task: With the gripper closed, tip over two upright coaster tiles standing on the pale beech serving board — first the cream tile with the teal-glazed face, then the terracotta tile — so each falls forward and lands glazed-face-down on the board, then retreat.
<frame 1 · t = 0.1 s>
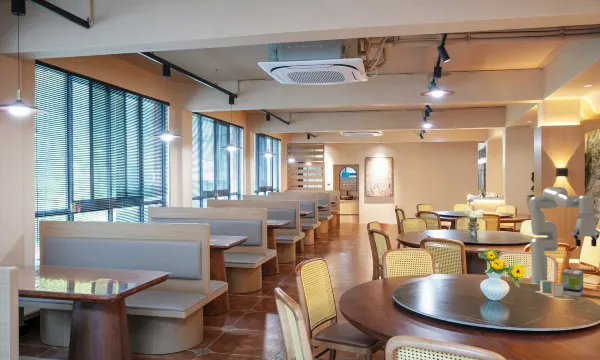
hand: (586, 246, 266), 31 cm above the table, fingers open, 9 cm apart
cream tile: (545, 292, 279), point 1 cm above the table, touching board
tea box: (572, 295, 277), on the table
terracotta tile: (557, 296, 268), point 1 cm above the table, touching board
board: (554, 297, 271), on the table
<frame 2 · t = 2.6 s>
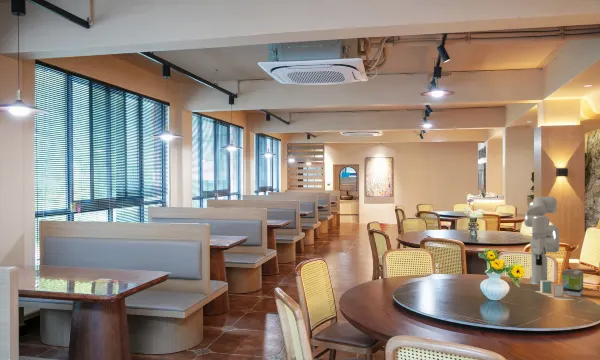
hand: (538, 265, 286), 17 cm above the table, fingers closed
nothing on the table moved.
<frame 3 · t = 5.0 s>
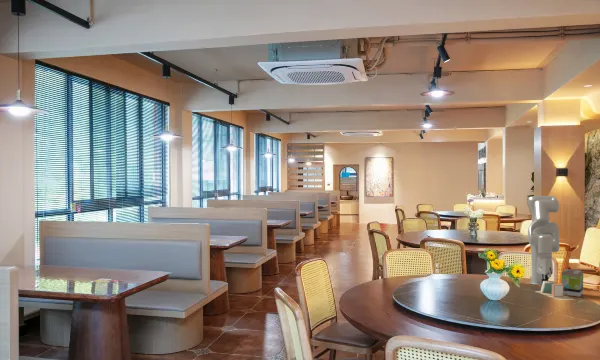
hand: (544, 285, 280), 5 cm above the table, fingers closed
cream tile: (546, 291, 279), point 2 cm above the table, tilted 22°, touching board
everything else where it was.
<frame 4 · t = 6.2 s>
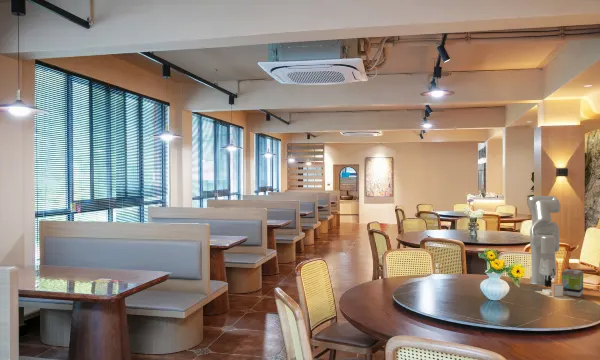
hand: (547, 286, 277), 5 cm above the table, fingers closed
cream tile: (546, 290, 278), point 2 cm above the table, tilted 90°, touching board
everything else where it was.
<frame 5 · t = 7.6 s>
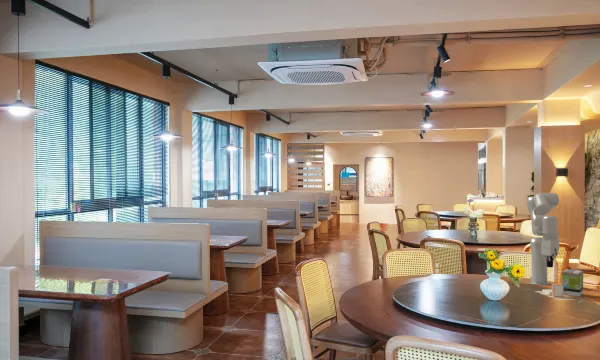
hand: (549, 267, 276), 17 cm above the table, fingers closed
nothing on the table moved.
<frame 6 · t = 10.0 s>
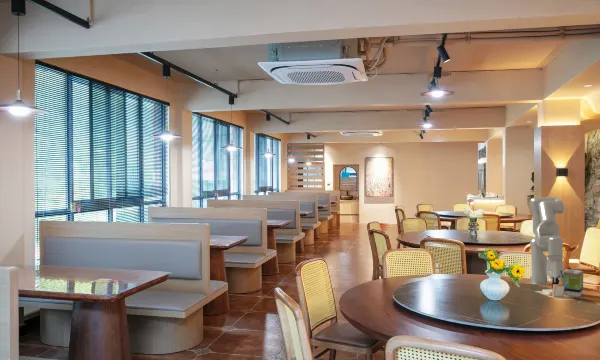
hand: (555, 288, 270), 5 cm above the table, fingers closed
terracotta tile: (557, 296, 268), point 1 cm above the table, tilted 11°, touching board, gripper
everything else where it was.
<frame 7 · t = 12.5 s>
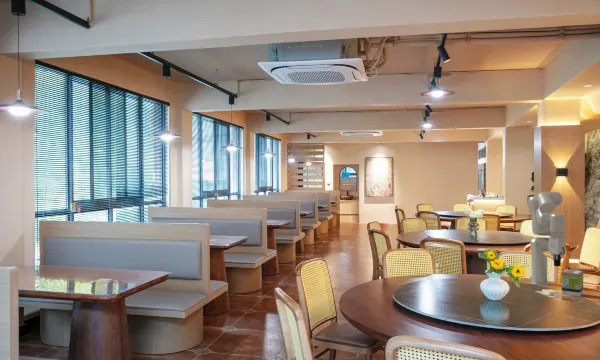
hand: (557, 265, 269), 19 cm above the table, fingers closed
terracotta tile: (558, 295, 267), point 2 cm above the table, tilted 90°, touching board
everything else where it was.
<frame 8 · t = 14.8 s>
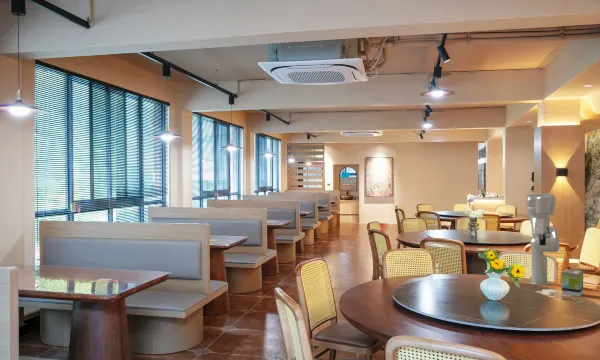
hand: (542, 245, 288), 29 cm above the table, fingers closed
nothing on the table moved.
at the end: cream tile tilted 90°; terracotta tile tilted 90°; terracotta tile inside the target area (2.0 cm from its centre), point 2.2 cm above the table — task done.
